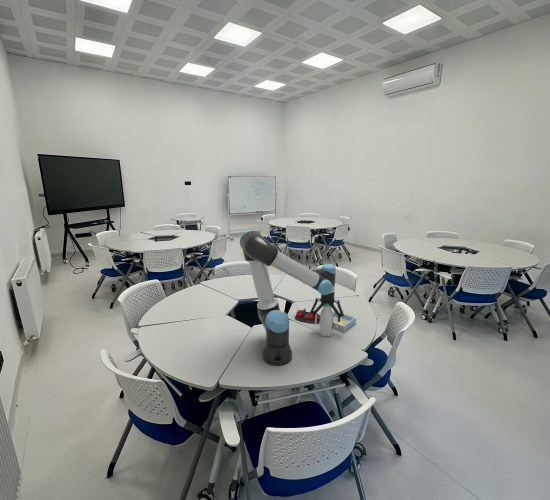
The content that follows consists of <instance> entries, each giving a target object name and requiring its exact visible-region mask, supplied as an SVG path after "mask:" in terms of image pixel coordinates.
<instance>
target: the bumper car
mask: <svg viewBox="0 0 550 500" xmlns="http://www.w3.org/2000/svg"><path fill="white" fill-rule="evenodd" d="M293 304H294V305H295V306H296V309H297V311H296V312H295V315H294V319H295V320H296V321H298V322H301V323H305V324H310V325H315V319H313V314H312V313H310V311H306V308H303V309H299V308H298V305H297V304H296V303H294V302H292V305H293ZM316 325H320V314H319V313H317V323H316Z"/></svg>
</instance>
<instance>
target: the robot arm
mask: <svg viewBox="0 0 550 500" xmlns="http://www.w3.org/2000/svg"><path fill="white" fill-rule="evenodd" d="M239 245H240V248H241V249H242V252H243V253H242V254H243V256H244V260H245V262H247V263H248V264H249V268H250V272H251V276H252V280H253V283H254V288H255V292H256V296H257V300H258V302H257V304H256V306H257V307H256V308H257V315H258V319H259V320H260V322H261V323H262V326H263V328H264V331H265V345H264V348H263V351H262V359H263V361H264V362H265V363H267V364H269V365H271V366H283V365H286V364H288V363H290V362H291V360H292V359H293V351H292V348H291V345H290V318H289V315H288V314H287V313H286V312H285V311H282V310H281V309H280V305H279V301H278V299H277V298H275V295H274V291H273V287H272V282H271V278H270V274H269V273H270V272H269V270H268V267H270V266H272V267H274V268H275V269H277V270H279V271H281V272H283V273H284V274H286V275H288V276H290V277H291V278H293V279H295V280H297V281H299V282H300V283H302V284H303V285H306V286H308V287H310V288H311V289H314V290H315V291H317V292H318V293H319V294H320V298H319V297H315V299H314V300H315V301H314V303H313V305H312V307H311V309H310V311H309V312H310V313H312V314H313V319H315V324H314V326H317V324H316V323H317V314H318V312H319V311H320V310H322V309H323V307H324V305H325V304H326V303H329V305H330V306H331V310H333V312H334V311H335V313H336V314H337V323H336V328H338V322H340V317H343V316H344V314H345V313H344V311H343V308H342V306H341V301H340V299H335V294H336V293H335V290H336V273H337V272H336V271H337V270H336V265H335V264H331V263H324V264H323V265H322V266H321V268H319V269H310V268H308V267H306V266H305V265H303V264H301V263H300V262H298V261H296V260H294V259H292V258H291V257H289V256H288V255H286V254H284V253H282V252H281V251H279V248H278V247H277V246H275V245H274V244H272V243H271V242H270V241H268V240H267V239H266V238H265V237H264V236H263V235H262V234H261V233H260V232H259V231H256V230H254V229H250V230H247V231H244V233H243V234H242V235H241V236H240V239H239ZM319 302H320V304H319V305H318V306H317V304H318V303H319ZM335 304H336V305H337V307H336V306H335ZM337 308H338V309H337ZM339 312H340V313H341V314H340V313H339Z"/></svg>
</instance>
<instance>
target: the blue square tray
mask: <svg viewBox="0 0 550 500" xmlns="http://www.w3.org/2000/svg"><path fill="white" fill-rule="evenodd" d="M338 312H339V313H340V311H338ZM332 313H333V330H335V331H338V332H340V333H342V334H343V333H345V332H347V331H348V330H349V329H350V328H352V327H353V326H354V325H356V324H357V323H356V322H357V317H356V316H352V315H349V314H346V313H344V316H343V317H340V322H338V328H336V323H337V314H336V313H335V311H334V310H333V311H332ZM340 314H341V313H340Z"/></svg>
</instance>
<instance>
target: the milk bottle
mask: <svg viewBox="0 0 550 500" xmlns="http://www.w3.org/2000/svg"><path fill="white" fill-rule="evenodd" d="M332 310H333V309H332V308H331V306H330V305H329V303H326V304H325V305H324V306H323V307H322V309H321V312H320V314H319V315H320V323H319V330H318V332H319V334H320V335H321V336H322V337H331V336H332V335H333V332H334V331H333V330H334V329H333V313H332V312H333V311H332Z"/></svg>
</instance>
